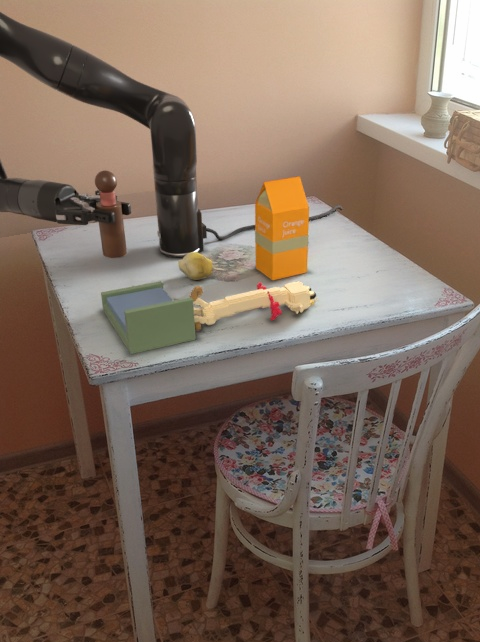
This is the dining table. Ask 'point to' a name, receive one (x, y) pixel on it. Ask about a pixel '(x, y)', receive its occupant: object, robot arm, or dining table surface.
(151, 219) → the dining table surface
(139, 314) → the bed
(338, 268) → the dining table surface
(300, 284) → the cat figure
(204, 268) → the fruit
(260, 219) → the orange juice
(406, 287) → the dining table surface
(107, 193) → the skittle
